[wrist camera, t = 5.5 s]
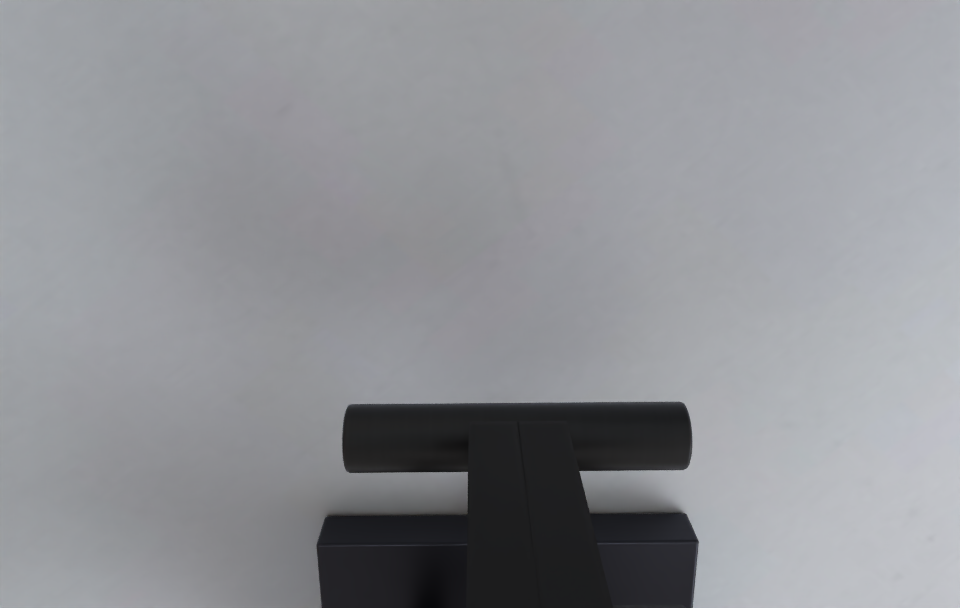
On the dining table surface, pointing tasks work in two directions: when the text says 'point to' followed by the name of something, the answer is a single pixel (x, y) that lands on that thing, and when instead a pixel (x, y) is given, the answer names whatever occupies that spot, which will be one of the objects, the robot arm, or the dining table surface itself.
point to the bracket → (443, 560)
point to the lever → (445, 427)
